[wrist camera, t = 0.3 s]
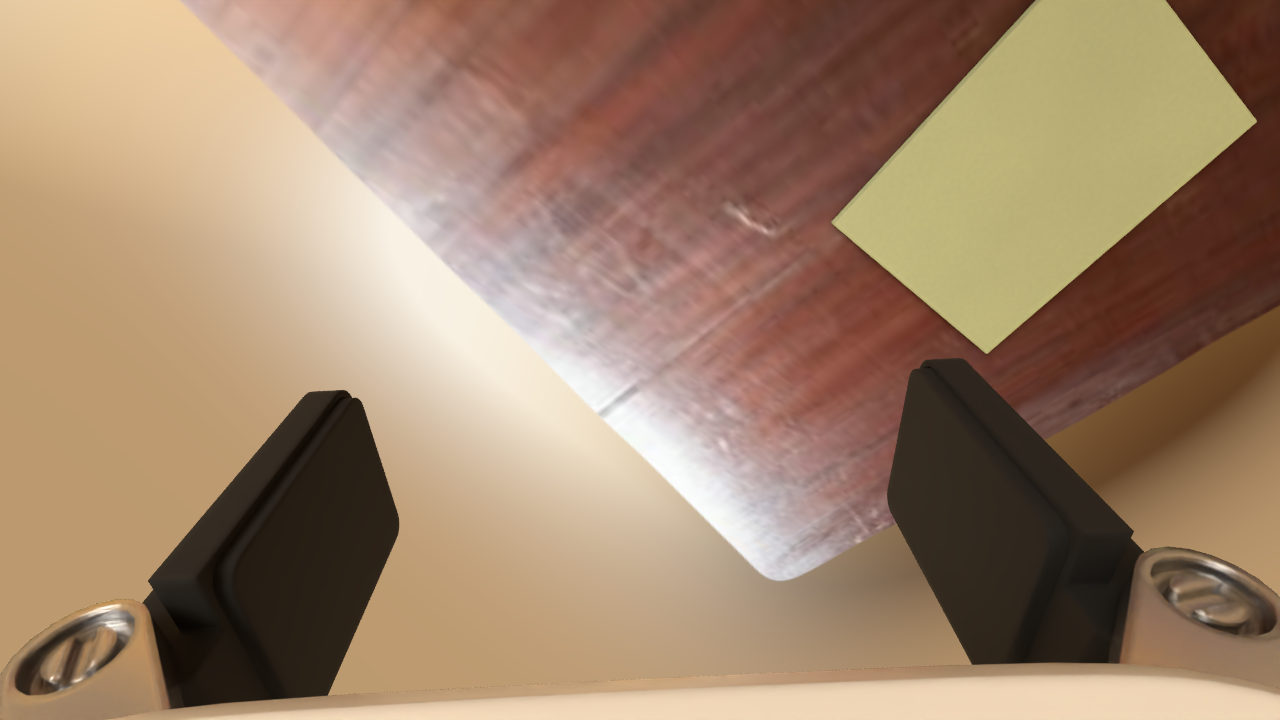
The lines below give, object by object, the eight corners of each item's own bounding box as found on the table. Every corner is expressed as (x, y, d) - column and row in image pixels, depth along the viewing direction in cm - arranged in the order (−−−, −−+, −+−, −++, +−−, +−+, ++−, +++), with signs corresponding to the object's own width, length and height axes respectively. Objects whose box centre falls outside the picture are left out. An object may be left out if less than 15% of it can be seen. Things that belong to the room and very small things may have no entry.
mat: (1102, -73, 33) (1109, -75, 32) (1249, 120, 38) (1258, 121, 37) (830, 222, 40) (833, 225, 40) (982, 350, 45) (986, 354, 45)
